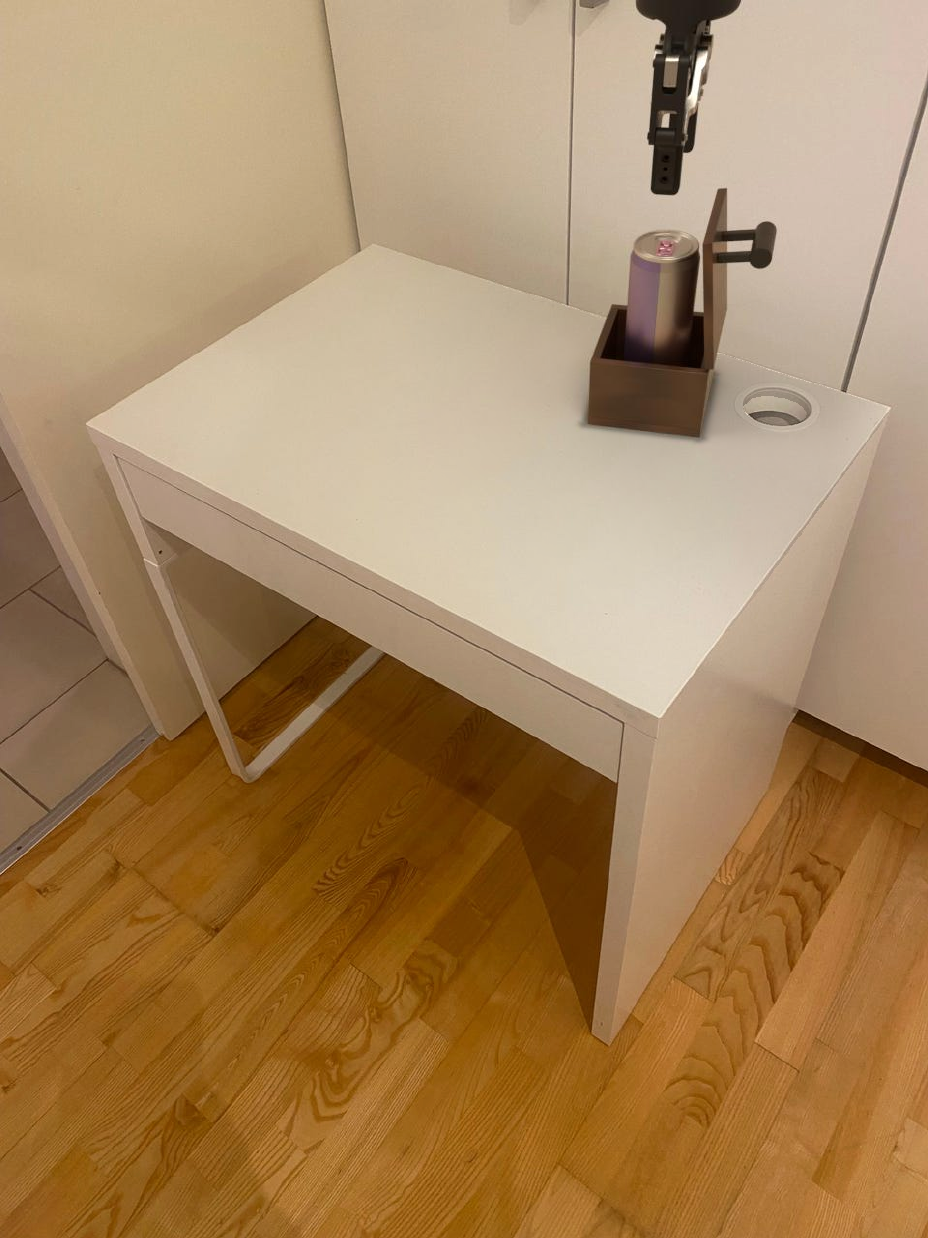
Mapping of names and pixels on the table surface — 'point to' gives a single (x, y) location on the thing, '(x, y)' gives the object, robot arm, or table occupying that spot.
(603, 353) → the chest
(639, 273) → the beverage can
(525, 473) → the table surface
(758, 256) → the lid
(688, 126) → the robot arm
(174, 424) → the table surface
